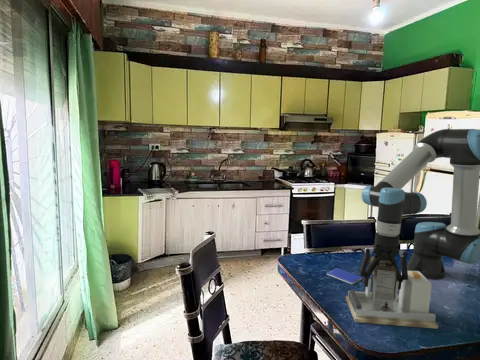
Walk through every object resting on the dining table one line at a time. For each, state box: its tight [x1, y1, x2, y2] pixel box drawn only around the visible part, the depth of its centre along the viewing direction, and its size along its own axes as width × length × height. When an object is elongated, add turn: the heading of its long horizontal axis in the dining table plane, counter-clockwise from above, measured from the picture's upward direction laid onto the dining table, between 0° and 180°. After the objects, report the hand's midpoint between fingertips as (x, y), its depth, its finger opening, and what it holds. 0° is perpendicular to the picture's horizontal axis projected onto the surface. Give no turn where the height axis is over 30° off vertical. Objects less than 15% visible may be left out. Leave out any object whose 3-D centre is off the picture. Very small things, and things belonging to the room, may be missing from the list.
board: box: [345, 295, 439, 330], centre depth 118 cm, size 26×16×1 cm, turn 84°
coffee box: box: [372, 260, 397, 310], centre depth 117 cm, size 9×6×16 cm
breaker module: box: [398, 270, 433, 313], centre depth 116 cm, size 6×10×13 cm, turn 174°
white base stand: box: [347, 289, 437, 323], centre depth 118 cm, size 25×13×4 cm, turn 84°
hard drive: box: [326, 267, 363, 285], centre depth 147 cm, size 2×8×12 cm
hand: (380, 296), depth 117 cm, fingers open, 8 cm apart
